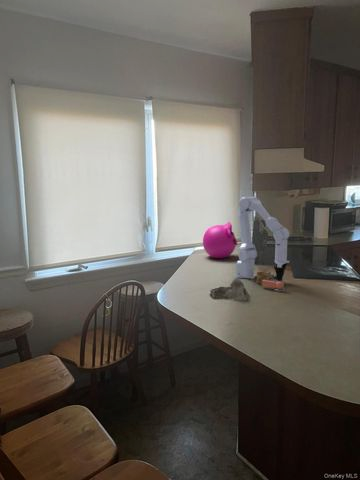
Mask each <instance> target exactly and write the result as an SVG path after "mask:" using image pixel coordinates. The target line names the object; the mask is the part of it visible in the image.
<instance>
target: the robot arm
mask: <svg viewBox="0 0 360 480" xmlns="http://www.w3.org/2000/svg"><path fill="white" fill-rule="evenodd" d="M252 211H255V212H256V213H257V214H258V215H259V216H260V217H261V219H263V220H264V222H265V226H266V227H267V228H268V229H269V230H270V232H271V233H272V234H273V235H272V236H273V239H274V241H275V245H274V246H275V250H274V263H275V265H274V267H273V268H274V271H275V275H277V280H282V278H283V279H284V275H285V270H286V268H287V267H286V266H287V265H288V264H289V263H290V261H289V260H287V258H288V239H289V238H290V234H291V233H290V230H289V229H288V228H286V227H284V225H282V224H281V223H280V222H279V221H278V218H277V217H276V218H275V216H274V217H273V216H271V215H270V213H269V212H268V211H267V210H266V209H265V207H264V206H263V205H262V201H261V200H260V199H259V198H258V197H257V196H243V197H241V199H239V201H238V210H237V217H238V225H239V232H240V233H239V234H240V239H241V244H240V246H239V248H238V258H239V260H237V261H236V278H238V279H240V278H243V279H252V280H253V279H254V278H255V277H257V273H256V274H255V261H256V258H257V256H258V251H257V249H256V246H255V244H253V241H252V235H251V234H252V233H251V225H250V217H249V215H250V213H251V212H252ZM277 280H276V281H277Z"/></svg>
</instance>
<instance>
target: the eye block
mask: <svg viewBox="0 0 360 480" xmlns="http://www.w3.org/2000/svg"><path fill="white" fill-rule="evenodd" d="M271 273H272V269H271V268H262V267H260V268H258V270H257V271H256V285H262V280H268V281H272V279H269V275H272V274H271Z"/></svg>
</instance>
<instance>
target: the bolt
mask: <svg viewBox="0 0 360 480" xmlns="http://www.w3.org/2000/svg"><path fill="white" fill-rule="evenodd" d="M269 279H271V280H272V281H276V282H278V281H280V282H284V277H283V278H282V280H277V275H276V274H271V275H269Z"/></svg>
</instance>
